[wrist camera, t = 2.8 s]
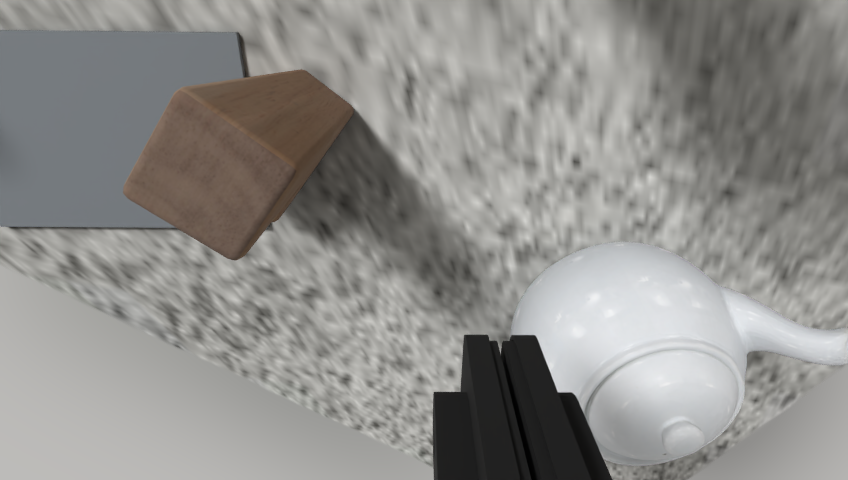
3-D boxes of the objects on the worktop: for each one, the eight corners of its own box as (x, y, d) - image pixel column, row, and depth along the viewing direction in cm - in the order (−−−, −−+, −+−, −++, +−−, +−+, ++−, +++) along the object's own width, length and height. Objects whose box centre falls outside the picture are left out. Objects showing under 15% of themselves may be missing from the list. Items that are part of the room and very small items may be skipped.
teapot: (532, 204, 34) (593, 302, 22) (745, 247, 36) (911, 361, 24) (471, 380, 42) (491, 524, 30) (648, 409, 44) (735, 556, 32)
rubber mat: (238, 32, 29) (236, 32, 28) (269, 226, 35) (267, 228, 35) (-83, 29, 29) (-89, 29, 28) (5, 224, 35) (0, 226, 34)
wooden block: (289, 204, 34) (178, 351, 17) (236, 169, 32) (61, 291, 16) (356, 108, 31) (302, 170, 14) (302, 66, 30) (174, 82, 13)
